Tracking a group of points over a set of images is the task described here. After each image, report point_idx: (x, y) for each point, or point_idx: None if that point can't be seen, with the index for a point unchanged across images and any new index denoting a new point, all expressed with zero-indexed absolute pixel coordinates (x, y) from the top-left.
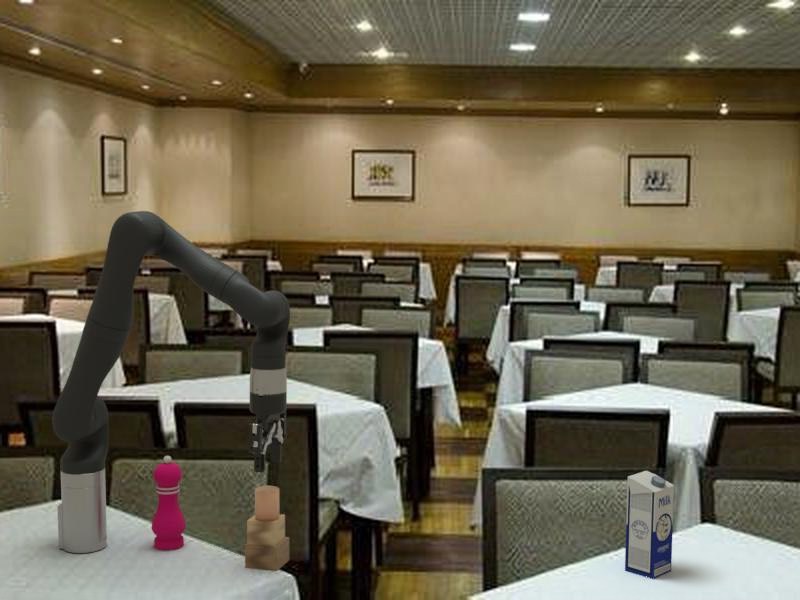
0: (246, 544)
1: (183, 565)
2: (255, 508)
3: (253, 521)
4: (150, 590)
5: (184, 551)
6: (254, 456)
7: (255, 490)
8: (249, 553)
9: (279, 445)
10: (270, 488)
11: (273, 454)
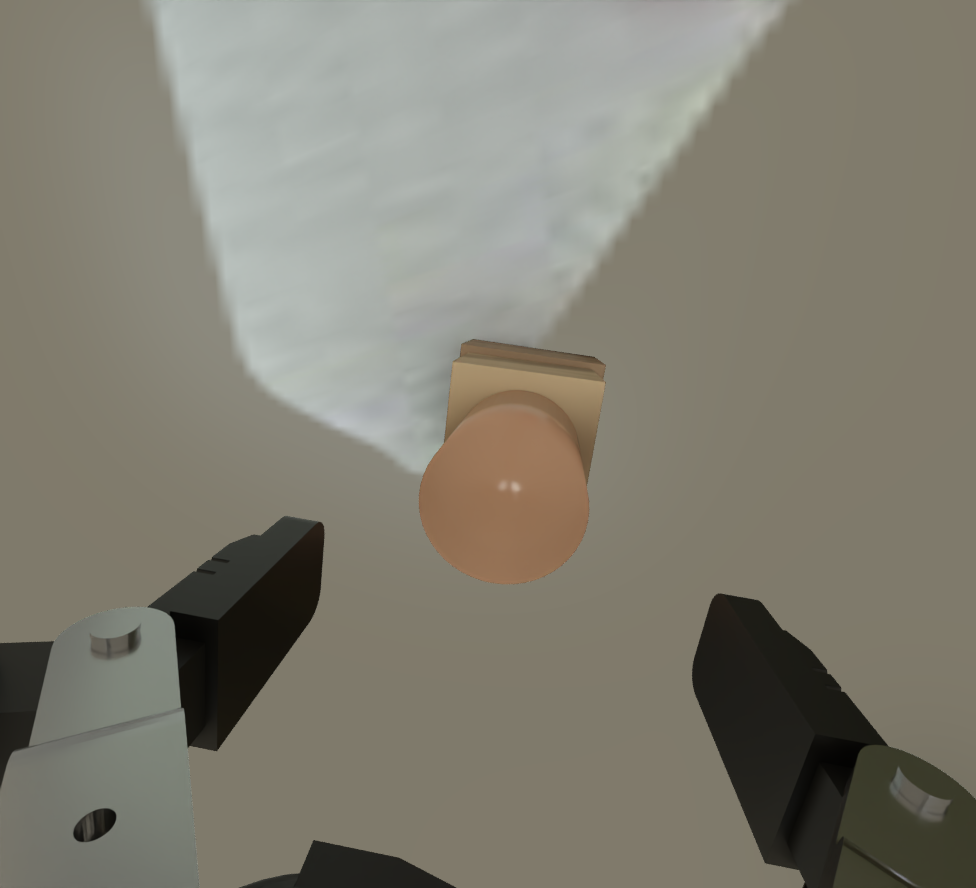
0: (465, 349)
1: (460, 83)
2: (475, 409)
3: (449, 396)
4: (191, 53)
5: (627, 17)
6: (195, 595)
7: (462, 434)
8: None
9: (761, 843)
10: (524, 525)
11: (733, 664)
